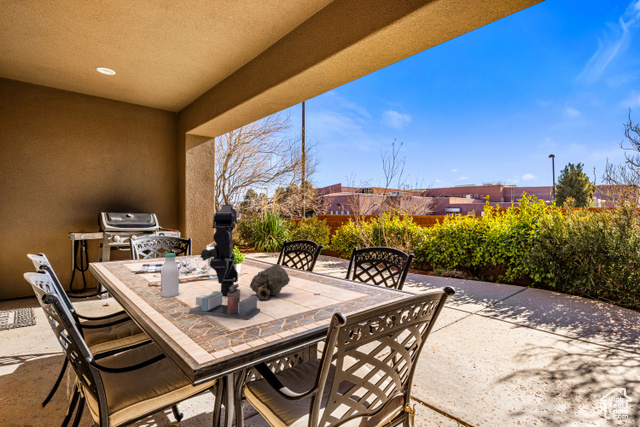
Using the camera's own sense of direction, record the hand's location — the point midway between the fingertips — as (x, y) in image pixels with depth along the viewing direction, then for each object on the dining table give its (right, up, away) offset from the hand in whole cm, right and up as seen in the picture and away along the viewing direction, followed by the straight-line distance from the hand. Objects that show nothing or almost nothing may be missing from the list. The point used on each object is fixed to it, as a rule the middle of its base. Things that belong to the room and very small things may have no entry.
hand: (223, 280), depth 124 cm
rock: (+14, -13, +23) cm, 30 cm away
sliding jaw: (-7, -11, +2) cm, 13 cm away
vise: (+1, -13, 0) cm, 13 cm away
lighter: (+5, -12, -1) cm, 13 cm away
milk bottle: (-33, -12, +23) cm, 42 cm away
